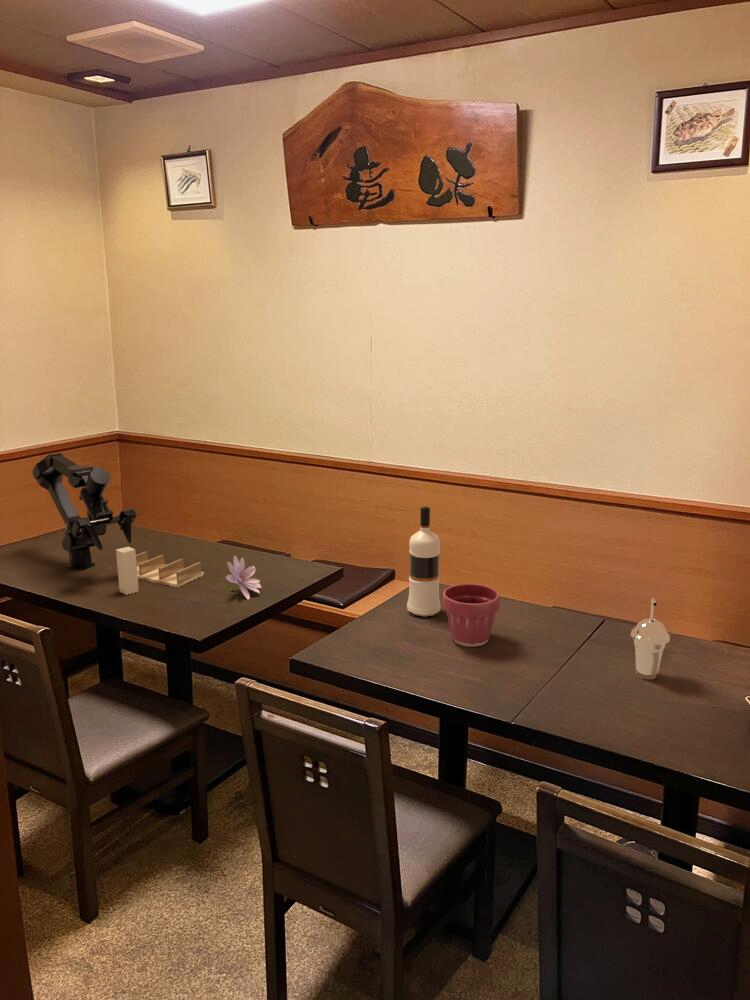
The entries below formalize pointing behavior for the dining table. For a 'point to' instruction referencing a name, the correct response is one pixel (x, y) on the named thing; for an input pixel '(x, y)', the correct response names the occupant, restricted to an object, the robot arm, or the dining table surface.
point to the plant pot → (470, 611)
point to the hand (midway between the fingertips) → (116, 545)
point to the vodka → (424, 568)
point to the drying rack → (166, 570)
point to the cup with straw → (649, 643)
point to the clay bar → (127, 570)
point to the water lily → (242, 577)
